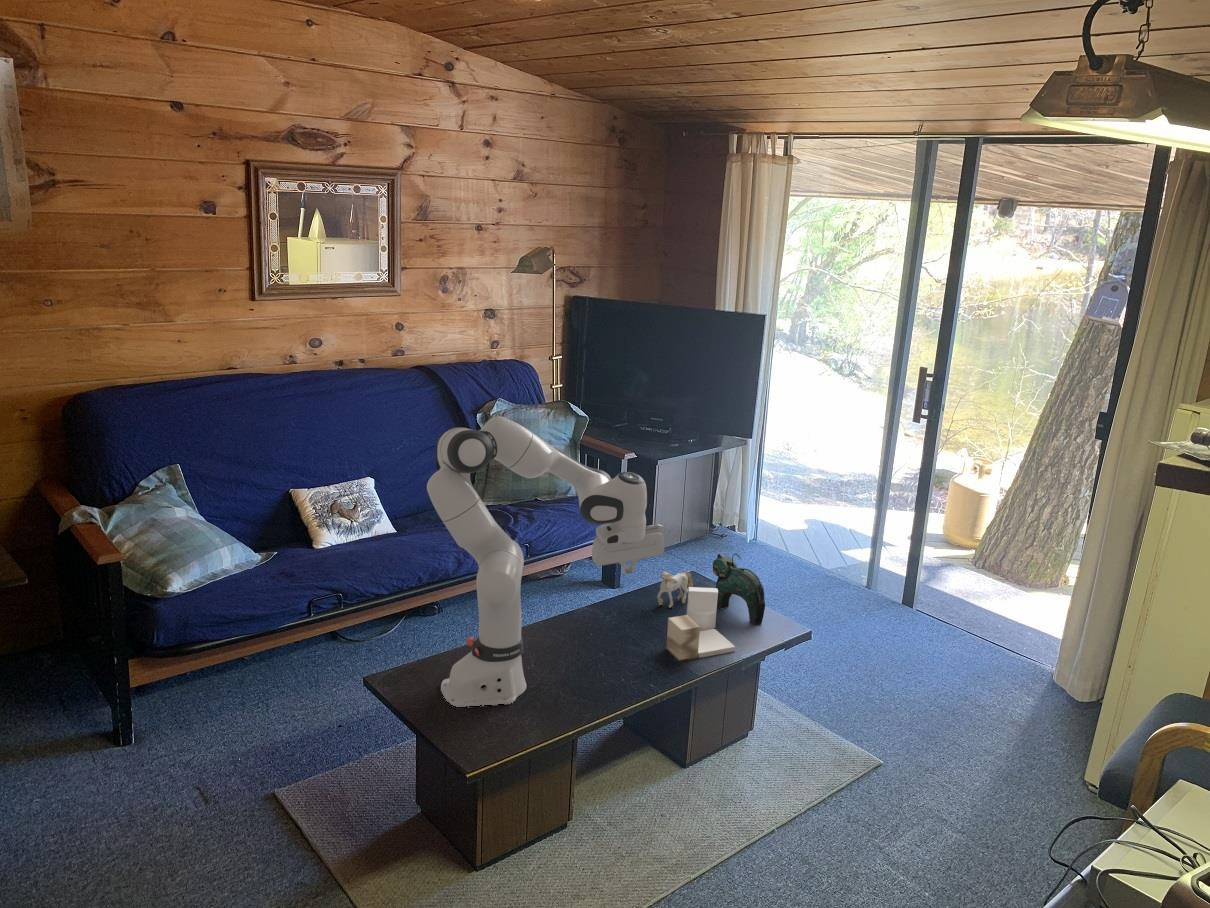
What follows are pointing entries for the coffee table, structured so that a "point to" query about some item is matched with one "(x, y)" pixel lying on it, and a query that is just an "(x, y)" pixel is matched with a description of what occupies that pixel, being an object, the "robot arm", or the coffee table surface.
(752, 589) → the ceramic cat
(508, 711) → the coffee table surface
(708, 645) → the board
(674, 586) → the unicorn figurine
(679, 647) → the birch block
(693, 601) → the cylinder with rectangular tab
